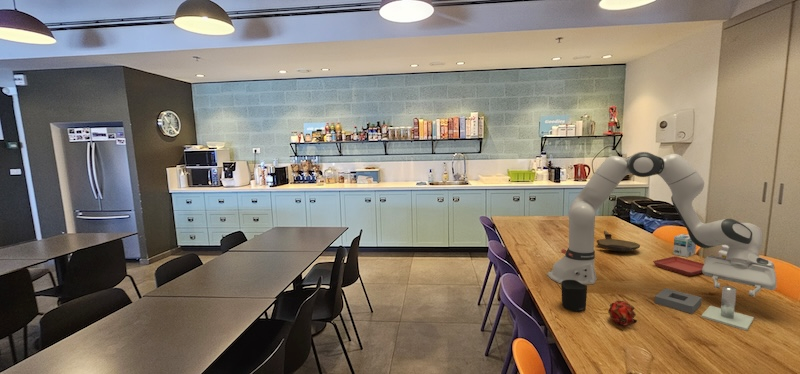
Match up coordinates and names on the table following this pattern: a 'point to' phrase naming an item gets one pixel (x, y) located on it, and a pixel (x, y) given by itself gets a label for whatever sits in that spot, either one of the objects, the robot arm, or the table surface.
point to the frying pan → (616, 244)
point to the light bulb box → (684, 246)
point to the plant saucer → (680, 265)
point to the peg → (728, 302)
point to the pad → (738, 320)
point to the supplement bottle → (723, 251)
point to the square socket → (678, 300)
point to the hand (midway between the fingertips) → (733, 291)
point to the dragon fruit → (622, 313)
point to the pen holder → (573, 295)
